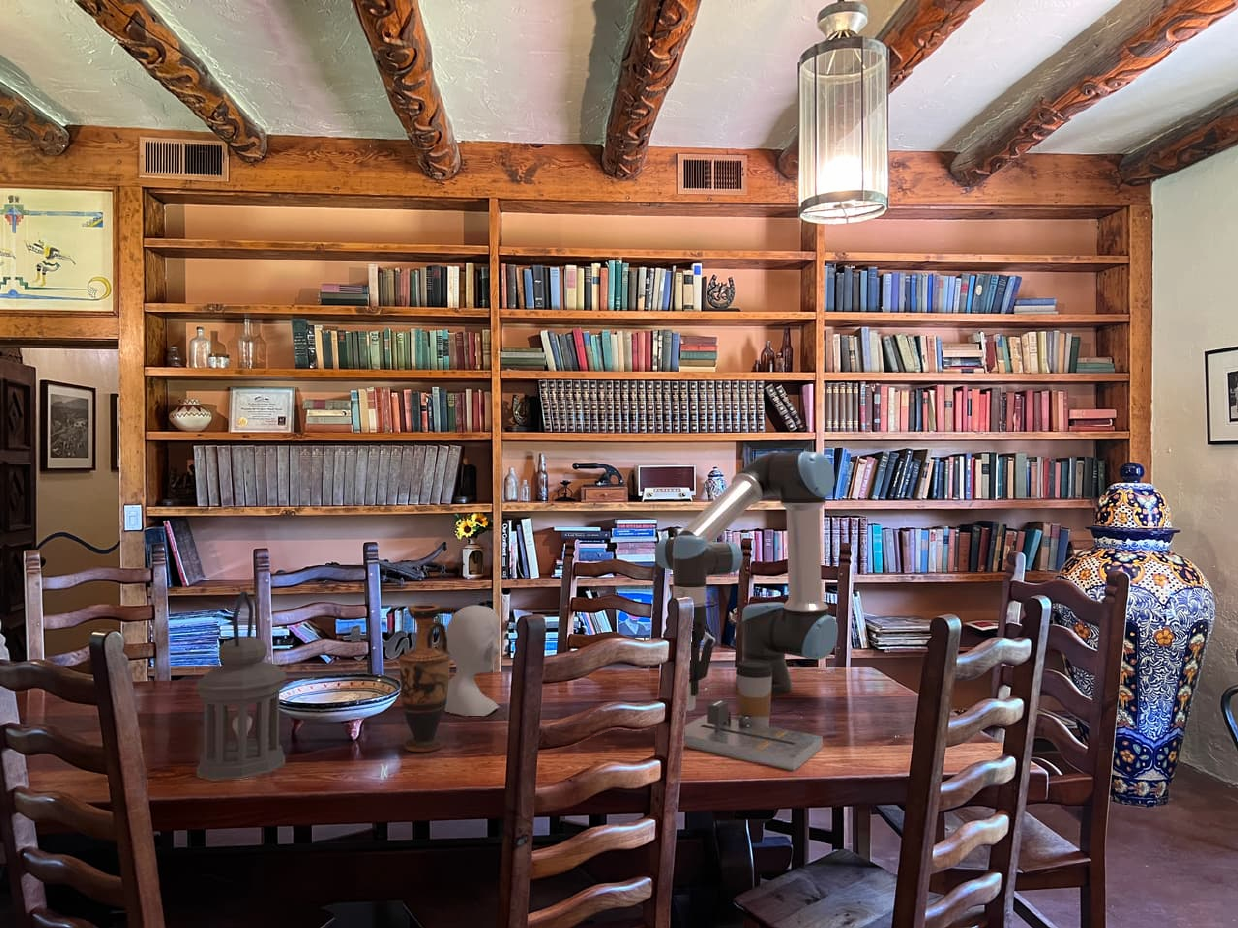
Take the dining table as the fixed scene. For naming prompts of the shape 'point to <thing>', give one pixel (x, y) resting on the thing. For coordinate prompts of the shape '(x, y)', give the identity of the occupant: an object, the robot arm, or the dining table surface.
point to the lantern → (241, 708)
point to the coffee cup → (754, 690)
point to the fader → (717, 713)
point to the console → (753, 742)
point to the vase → (425, 681)
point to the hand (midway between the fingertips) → (689, 708)
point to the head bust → (471, 658)
